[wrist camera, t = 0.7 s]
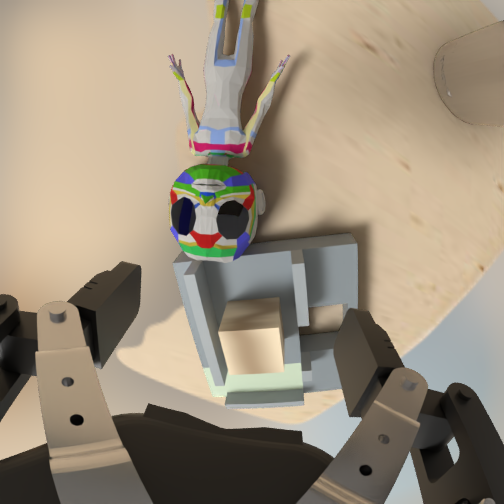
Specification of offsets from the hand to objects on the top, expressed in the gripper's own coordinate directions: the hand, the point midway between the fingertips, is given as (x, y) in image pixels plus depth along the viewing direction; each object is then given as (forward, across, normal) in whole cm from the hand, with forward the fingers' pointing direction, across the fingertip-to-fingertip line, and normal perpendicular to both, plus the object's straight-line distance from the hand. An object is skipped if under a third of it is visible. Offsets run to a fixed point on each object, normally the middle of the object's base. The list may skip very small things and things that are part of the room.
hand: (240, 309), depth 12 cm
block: (+16, -2, +11) cm, 19 cm away
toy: (+19, +4, -10) cm, 22 cm away
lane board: (+19, -4, +12) cm, 23 cm away
